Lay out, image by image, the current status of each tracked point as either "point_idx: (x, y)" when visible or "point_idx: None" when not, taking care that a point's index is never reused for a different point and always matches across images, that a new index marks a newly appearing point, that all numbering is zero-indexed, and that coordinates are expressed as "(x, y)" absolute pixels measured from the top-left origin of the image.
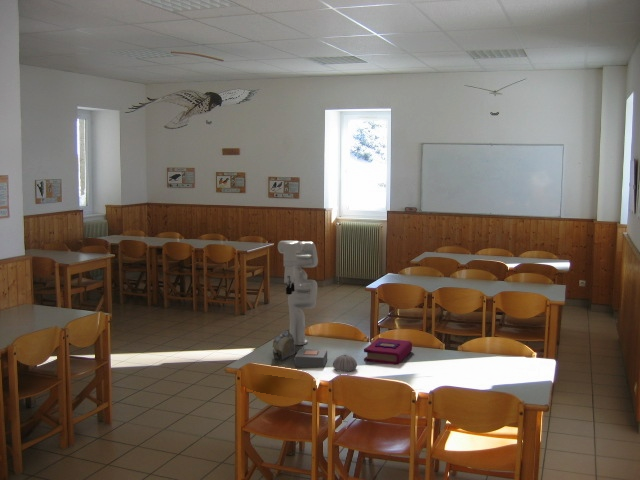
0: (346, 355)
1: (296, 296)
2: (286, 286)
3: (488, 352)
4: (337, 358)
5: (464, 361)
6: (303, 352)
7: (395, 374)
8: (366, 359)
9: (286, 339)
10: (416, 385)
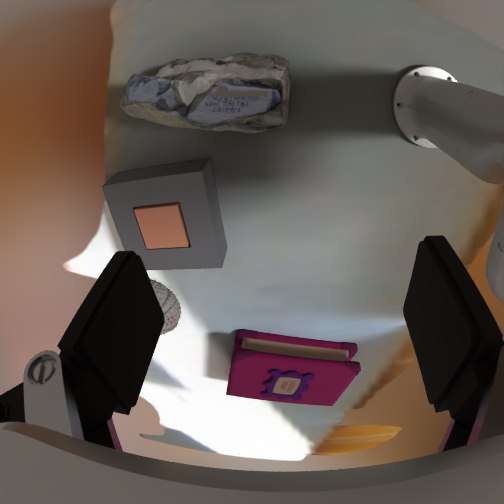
0: None
1: None
2: (27, 376)
3: (329, 439)
4: None
5: (276, 427)
6: (158, 199)
7: (167, 370)
8: (236, 337)
9: (176, 125)
10: None
